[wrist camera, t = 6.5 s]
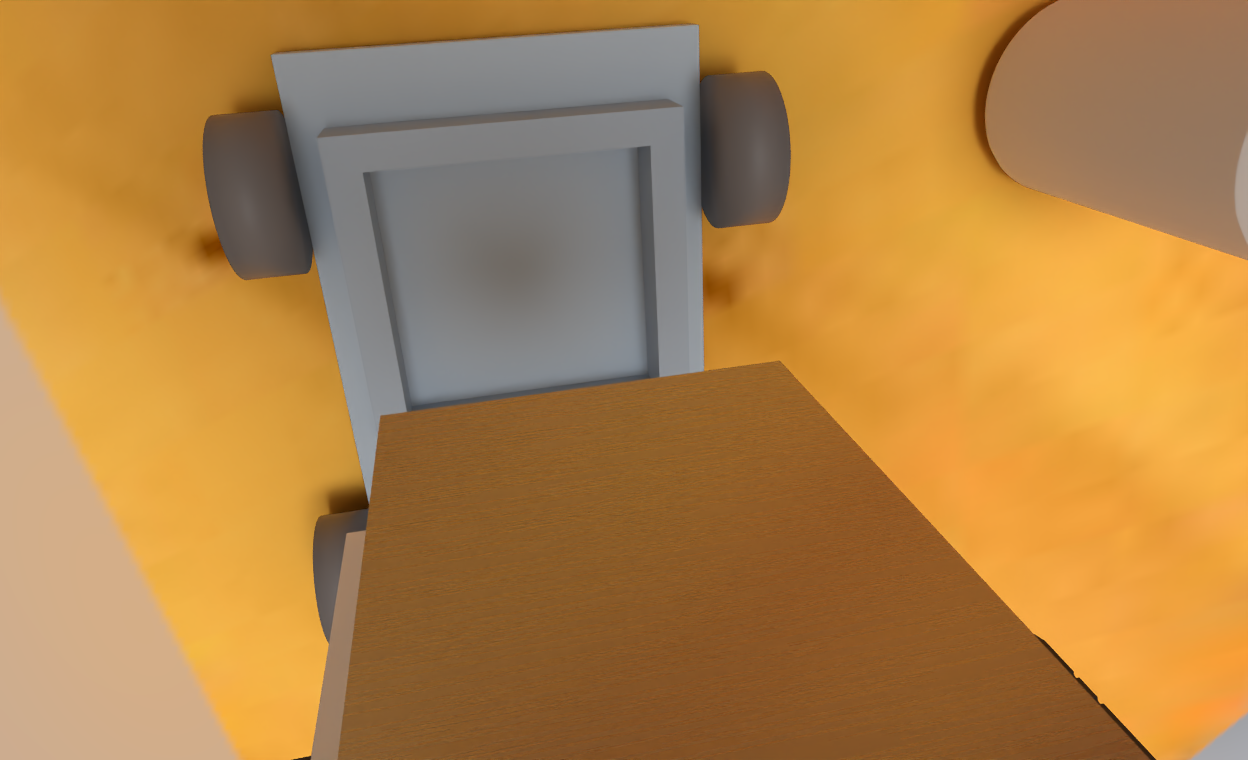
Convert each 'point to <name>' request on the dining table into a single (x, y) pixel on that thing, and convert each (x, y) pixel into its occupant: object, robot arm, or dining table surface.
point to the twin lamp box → (680, 593)
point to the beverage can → (1132, 113)
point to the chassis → (495, 213)
